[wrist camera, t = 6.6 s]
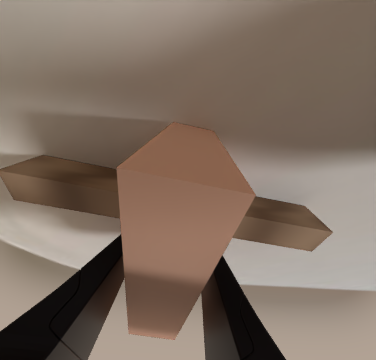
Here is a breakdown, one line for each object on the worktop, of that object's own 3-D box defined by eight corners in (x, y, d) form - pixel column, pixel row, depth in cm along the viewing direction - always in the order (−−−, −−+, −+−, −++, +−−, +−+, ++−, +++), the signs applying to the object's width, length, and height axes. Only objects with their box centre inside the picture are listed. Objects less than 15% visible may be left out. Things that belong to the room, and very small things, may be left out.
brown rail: (305, 206, 13) (333, 232, 10) (289, 224, 14) (311, 251, 11) (42, 155, 11) (-3, 170, 9) (51, 180, 13) (13, 200, 10)
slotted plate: (213, 131, 10) (255, 195, 3) (183, 235, 16) (174, 340, 9) (173, 122, 10) (116, 167, 3) (158, 231, 16) (128, 333, 9)
